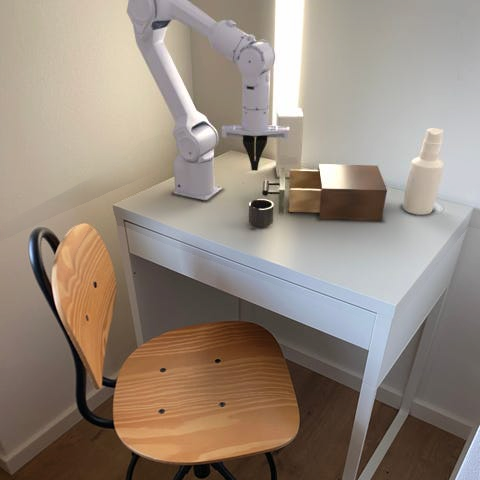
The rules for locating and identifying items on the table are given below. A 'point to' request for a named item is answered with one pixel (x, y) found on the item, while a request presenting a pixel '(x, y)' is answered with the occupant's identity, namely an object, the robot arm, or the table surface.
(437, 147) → the spray bottle
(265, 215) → the dark grey cup
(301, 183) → the drawer
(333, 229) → the table surface
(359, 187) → the cabinet
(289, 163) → the cosmetic box
